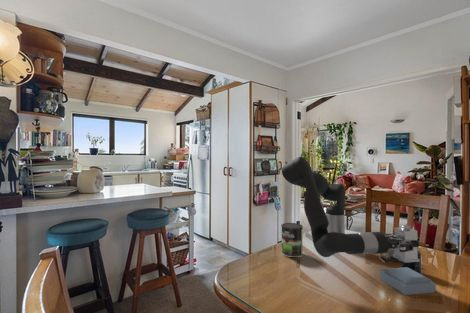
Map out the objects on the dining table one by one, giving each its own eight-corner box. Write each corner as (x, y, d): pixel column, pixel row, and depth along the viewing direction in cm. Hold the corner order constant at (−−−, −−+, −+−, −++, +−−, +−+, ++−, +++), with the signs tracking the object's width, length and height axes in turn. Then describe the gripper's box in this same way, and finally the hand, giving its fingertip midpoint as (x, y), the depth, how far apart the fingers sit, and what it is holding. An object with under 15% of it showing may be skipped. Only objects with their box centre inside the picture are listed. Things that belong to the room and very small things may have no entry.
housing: (404, 262, 90) (404, 228, 90) (392, 256, 96) (392, 224, 96) (419, 261, 91) (419, 227, 91) (406, 255, 97) (406, 223, 97)
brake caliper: (398, 249, 123) (405, 234, 116) (406, 270, 114) (414, 256, 107) (373, 247, 125) (377, 232, 118) (379, 268, 117) (384, 254, 110)
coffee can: (296, 259, 117) (296, 229, 117) (277, 254, 124) (277, 225, 124) (306, 253, 125) (306, 225, 125) (288, 248, 132) (288, 221, 132)
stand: (404, 295, 87) (404, 283, 87) (380, 278, 99) (380, 268, 99) (435, 292, 88) (435, 280, 88) (407, 276, 100) (407, 266, 100)
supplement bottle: (418, 270, 105) (417, 241, 105) (424, 277, 99) (424, 247, 99) (399, 268, 108) (398, 240, 108) (404, 275, 101) (403, 245, 101)
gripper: (384, 238, 85) (429, 236, 87) (358, 227, 99) (397, 225, 101) (384, 261, 85) (429, 258, 87) (358, 246, 99) (397, 244, 101)
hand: (411, 241), depth 94 cm, fingers closed on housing, 5 cm apart
